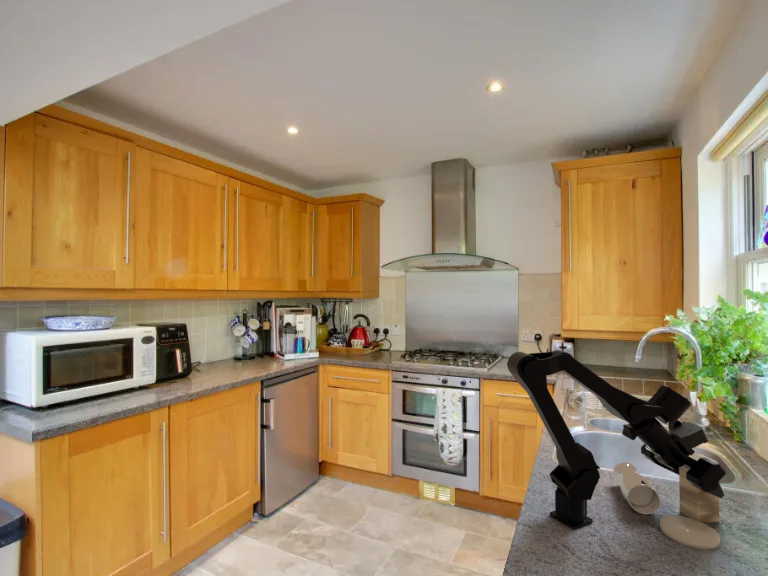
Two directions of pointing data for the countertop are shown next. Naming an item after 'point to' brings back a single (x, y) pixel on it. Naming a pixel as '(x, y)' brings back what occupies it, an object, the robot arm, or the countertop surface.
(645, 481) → the beer glass
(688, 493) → the wooden block
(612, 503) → the countertop surface
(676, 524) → the saucer
